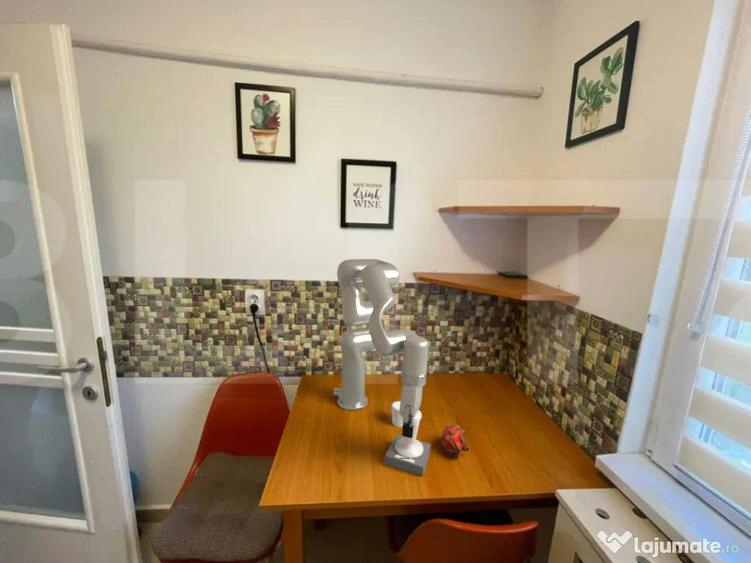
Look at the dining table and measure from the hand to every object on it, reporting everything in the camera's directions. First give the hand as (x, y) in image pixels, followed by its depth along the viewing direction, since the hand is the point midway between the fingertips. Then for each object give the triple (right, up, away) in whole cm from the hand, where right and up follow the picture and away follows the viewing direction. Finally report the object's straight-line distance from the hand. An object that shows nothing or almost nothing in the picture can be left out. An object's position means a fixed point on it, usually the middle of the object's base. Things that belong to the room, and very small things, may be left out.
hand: (410, 429), depth 98 cm
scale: (-1, -10, +1) cm, 10 cm away
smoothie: (0, -4, +1) cm, 4 cm away
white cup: (-2, -7, +20) cm, 21 cm away
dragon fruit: (+15, -10, +6) cm, 19 cm away
